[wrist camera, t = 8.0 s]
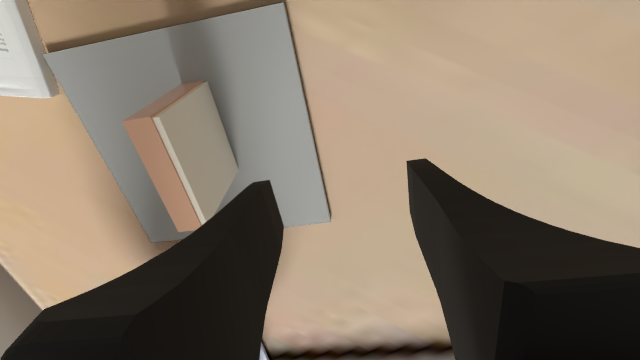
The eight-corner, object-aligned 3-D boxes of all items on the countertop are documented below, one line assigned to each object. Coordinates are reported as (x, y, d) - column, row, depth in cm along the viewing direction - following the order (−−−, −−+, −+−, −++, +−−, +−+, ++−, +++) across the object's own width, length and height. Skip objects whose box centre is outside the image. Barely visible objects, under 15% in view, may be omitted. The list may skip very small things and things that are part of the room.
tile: (239, 170, 22) (207, 228, 17) (216, 173, 22) (178, 232, 17) (207, 79, 19) (156, 115, 14) (181, 84, 19) (121, 121, 14)
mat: (330, 218, 24) (330, 222, 23) (154, 239, 26) (151, 242, 25) (284, 1, 17) (283, 2, 17) (47, 53, 19) (42, 54, 19)
